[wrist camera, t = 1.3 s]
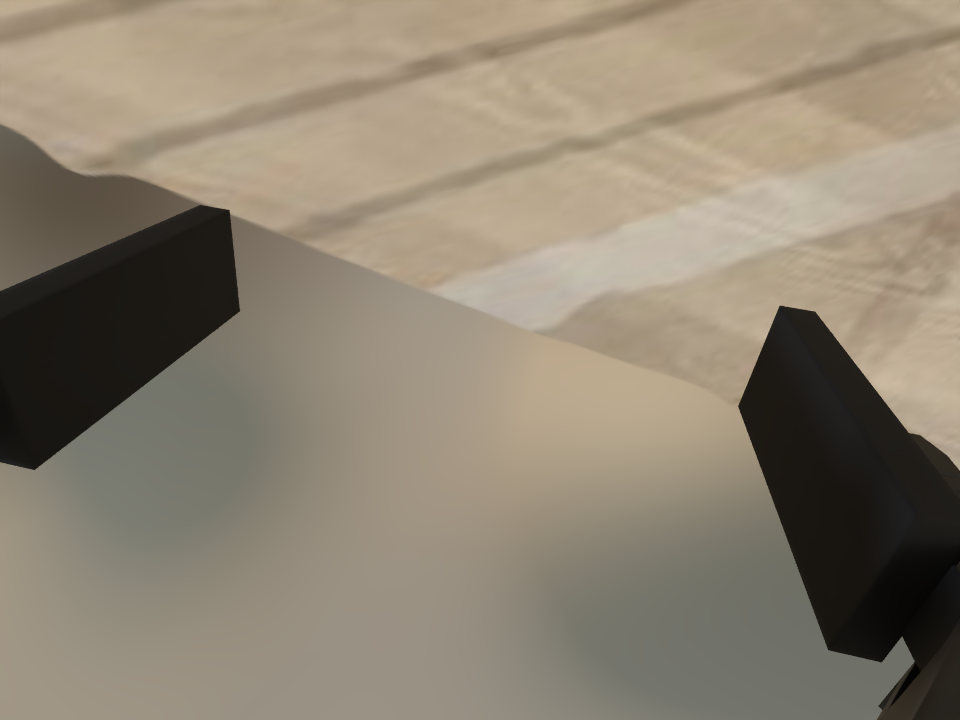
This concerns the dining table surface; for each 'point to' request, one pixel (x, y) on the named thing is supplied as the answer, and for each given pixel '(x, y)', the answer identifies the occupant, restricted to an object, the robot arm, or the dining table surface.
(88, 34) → the dining table surface
